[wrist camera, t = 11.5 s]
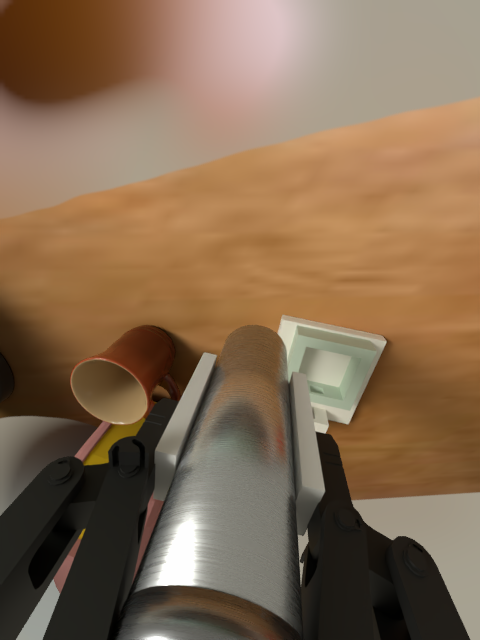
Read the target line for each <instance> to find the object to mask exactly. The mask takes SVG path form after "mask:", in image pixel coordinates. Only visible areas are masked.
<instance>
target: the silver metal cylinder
mask: <svg viewBox="0 0 480 640" xmlns="http://www.w3.org/2000/svg"><path fill="white" fill-rule="evenodd" d="M111 640H304V635H303V618H302V601H301V585H300V567H299V551H298V533H297V517H296V500H295V483H294V466H293V449H292V432H291V415H290V398H289V382H288V365H287V350H286V346H285V344H284V342H283V340H282V339H281V337H280V336H279V335H278V334H277V333H276V332H274V331H273V330H271V329H269V328H267V327H264V326H259V325H247V326H243V327H240V328H238V329H236V330H235V331H233V332H232V333H231V334H230V335H229V336H228V338H227V339H226V341H225V344H224V347H223V349H222V352H221V354H220V357H219V360H218V362H217V365H216V367H215V370H214V373H213V375H212V378H211V380H210V383H209V386H208V388H207V391H206V393H205V396H204V399H203V401H202V404H201V406H200V409H199V412H198V414H197V417H196V419H195V422H194V425H193V427H192V430H191V432H190V435H189V438H188V440H187V443H186V445H185V448H184V451H183V453H182V456H181V458H180V461H179V464H178V466H177V469H176V471H175V474H174V477H173V479H172V482H171V484H170V487H169V490H168V492H167V495H166V497H165V500H164V503H163V505H162V508H161V510H160V513H159V516H158V518H157V521H156V523H155V526H154V529H153V531H152V534H151V536H150V539H149V542H148V544H147V547H146V549H145V552H144V555H143V557H142V560H141V562H140V565H139V568H138V570H137V573H136V575H135V578H134V581H133V583H132V586H131V588H130V591H129V594H128V596H127V599H126V600H125V602H124V604H123V607H122V610H121V612H120V615H119V617H118V620H117V622H116V625H115V628H114V631H113V633H112V636H111Z"/></svg>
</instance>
